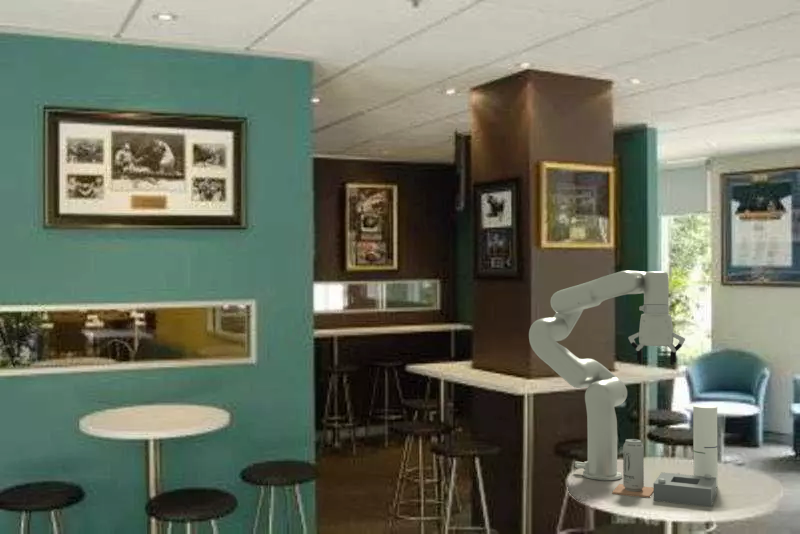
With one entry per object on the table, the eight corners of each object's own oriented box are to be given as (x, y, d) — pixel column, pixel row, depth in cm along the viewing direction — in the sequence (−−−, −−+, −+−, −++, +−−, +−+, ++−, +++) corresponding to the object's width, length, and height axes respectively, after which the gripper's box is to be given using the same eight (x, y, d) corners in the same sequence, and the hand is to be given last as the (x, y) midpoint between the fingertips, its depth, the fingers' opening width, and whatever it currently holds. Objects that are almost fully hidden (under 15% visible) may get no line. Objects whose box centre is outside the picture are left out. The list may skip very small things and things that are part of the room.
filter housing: (653, 500, 247) (653, 480, 247) (661, 488, 261) (661, 469, 261) (711, 506, 240) (711, 485, 240) (716, 494, 254) (716, 474, 255)
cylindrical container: (719, 488, 261) (719, 408, 261) (695, 487, 262) (695, 407, 263) (715, 483, 268) (715, 405, 268) (692, 482, 269) (691, 404, 270)
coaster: (612, 493, 254) (612, 491, 254) (619, 485, 264) (619, 483, 264) (649, 497, 250) (649, 495, 250) (655, 489, 260) (655, 487, 260)
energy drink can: (619, 488, 259) (619, 439, 259) (635, 486, 261) (635, 438, 261) (631, 492, 253) (631, 442, 254) (647, 490, 256) (647, 441, 256)
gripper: (626, 310, 267) (626, 363, 267) (683, 310, 260) (683, 366, 259) (630, 309, 274) (630, 361, 274) (686, 310, 266) (686, 364, 266)
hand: (656, 363), depth 266 cm, fingers open, 9 cm apart
